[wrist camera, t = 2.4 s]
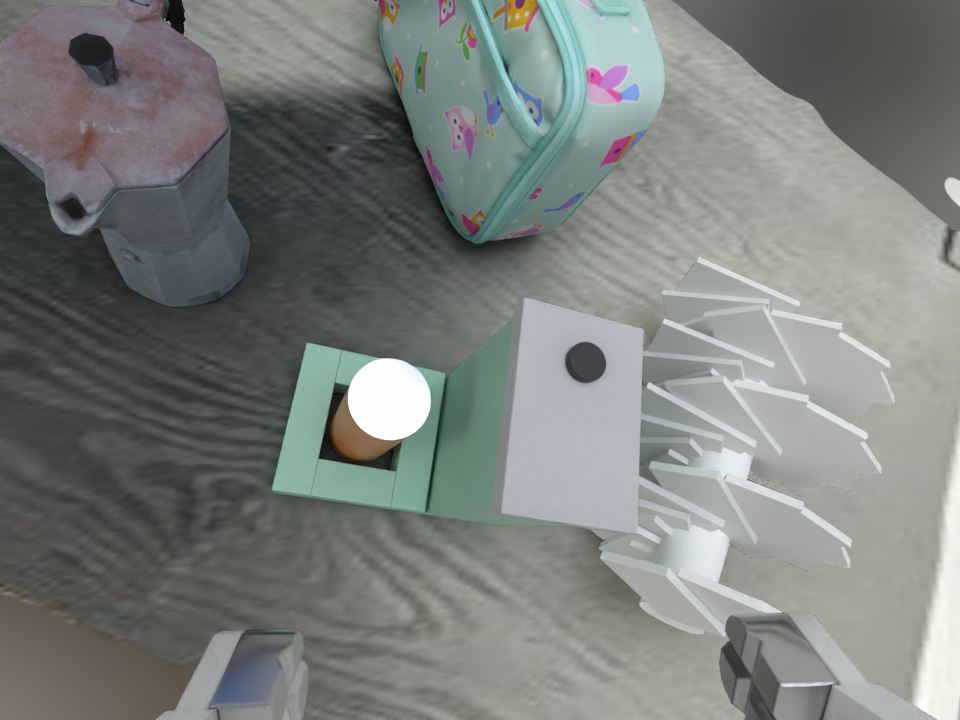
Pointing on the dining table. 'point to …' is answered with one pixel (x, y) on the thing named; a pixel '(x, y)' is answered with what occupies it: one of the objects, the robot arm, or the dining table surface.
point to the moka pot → (128, 142)
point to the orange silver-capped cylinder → (379, 410)
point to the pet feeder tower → (543, 425)
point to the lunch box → (521, 101)
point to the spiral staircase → (740, 444)
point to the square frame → (342, 480)
